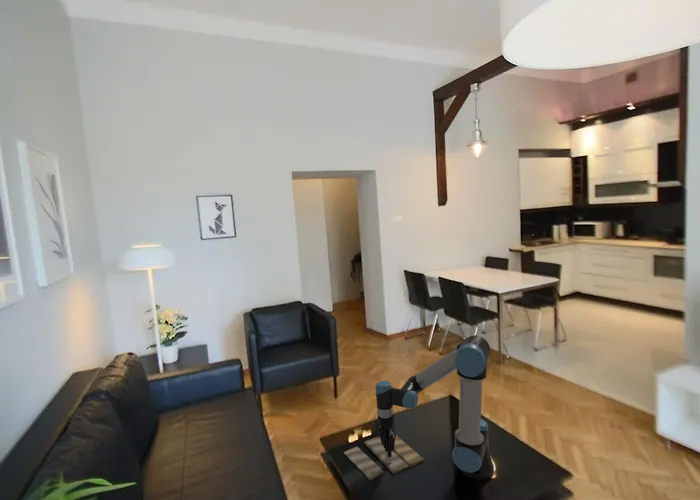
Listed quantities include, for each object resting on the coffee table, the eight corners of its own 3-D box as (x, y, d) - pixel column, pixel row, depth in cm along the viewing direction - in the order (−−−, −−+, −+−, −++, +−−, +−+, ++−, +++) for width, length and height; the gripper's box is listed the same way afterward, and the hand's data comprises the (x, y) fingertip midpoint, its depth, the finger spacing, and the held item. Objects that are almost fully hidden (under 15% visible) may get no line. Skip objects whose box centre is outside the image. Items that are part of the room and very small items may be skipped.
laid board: (423, 461, 179) (423, 458, 179) (410, 467, 176) (409, 464, 176) (391, 433, 204) (391, 431, 204) (379, 438, 201) (379, 435, 201)
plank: (384, 474, 173) (384, 471, 173) (370, 481, 169) (370, 478, 169) (357, 448, 194) (357, 446, 194) (343, 454, 190) (343, 452, 190)
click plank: (408, 468, 175) (408, 465, 175) (394, 474, 172) (393, 471, 172) (377, 438, 200) (377, 436, 200) (364, 443, 197) (364, 441, 197)
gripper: (399, 418, 172) (403, 466, 174) (384, 406, 184) (388, 451, 186) (385, 423, 169) (389, 472, 171) (371, 411, 180) (375, 457, 182)
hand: (388, 461), depth 178 cm, fingers closed
